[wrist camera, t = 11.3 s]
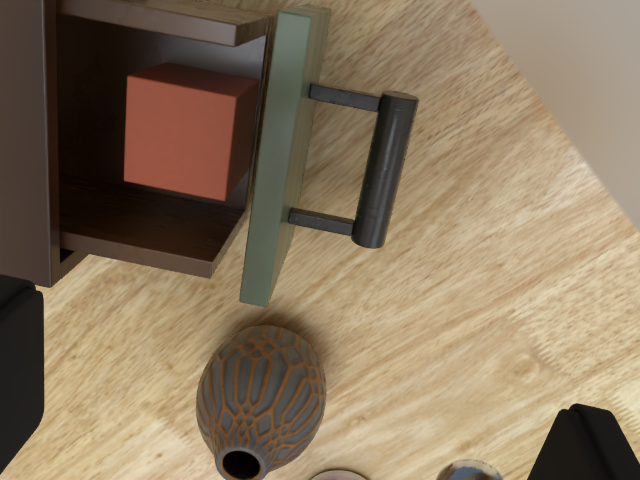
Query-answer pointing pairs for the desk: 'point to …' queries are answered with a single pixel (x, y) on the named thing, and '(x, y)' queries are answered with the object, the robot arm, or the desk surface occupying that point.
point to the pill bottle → (338, 476)
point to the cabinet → (30, 145)
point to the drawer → (275, 144)
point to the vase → (260, 401)
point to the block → (188, 129)
